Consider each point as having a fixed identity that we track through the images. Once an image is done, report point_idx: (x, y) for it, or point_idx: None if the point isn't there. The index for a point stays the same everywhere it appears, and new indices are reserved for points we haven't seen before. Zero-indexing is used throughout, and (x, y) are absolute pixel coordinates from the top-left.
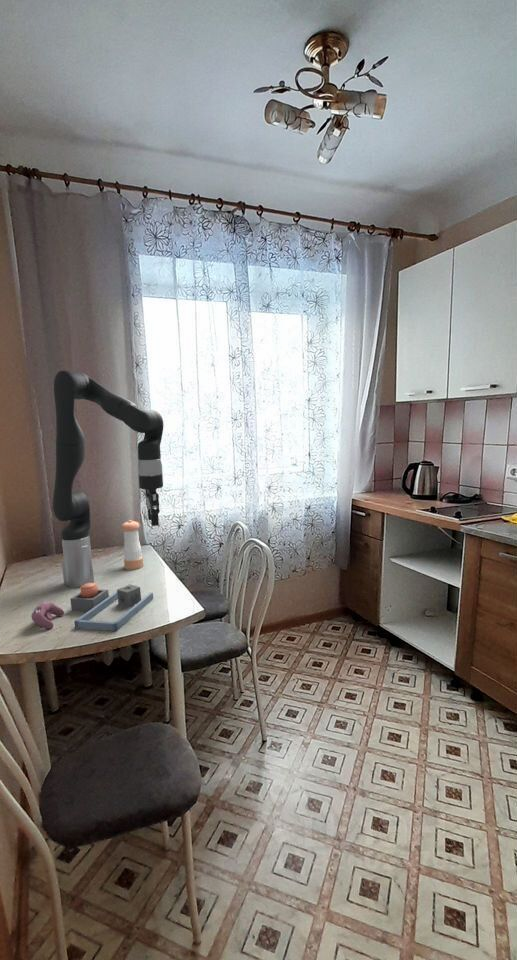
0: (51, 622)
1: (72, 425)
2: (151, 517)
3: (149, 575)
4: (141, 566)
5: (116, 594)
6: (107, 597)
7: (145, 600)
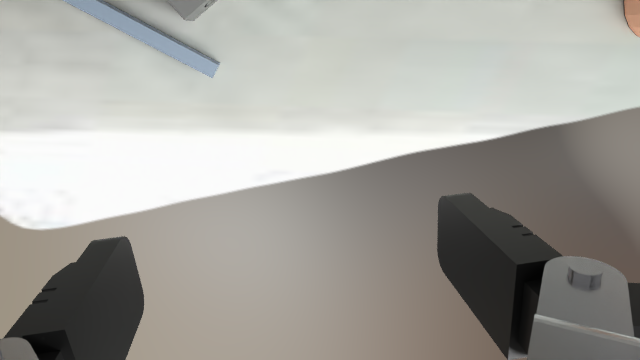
0: None
1: None
2: (49, 304)
3: (505, 65)
4: (636, 31)
5: None
6: None
7: (142, 40)
